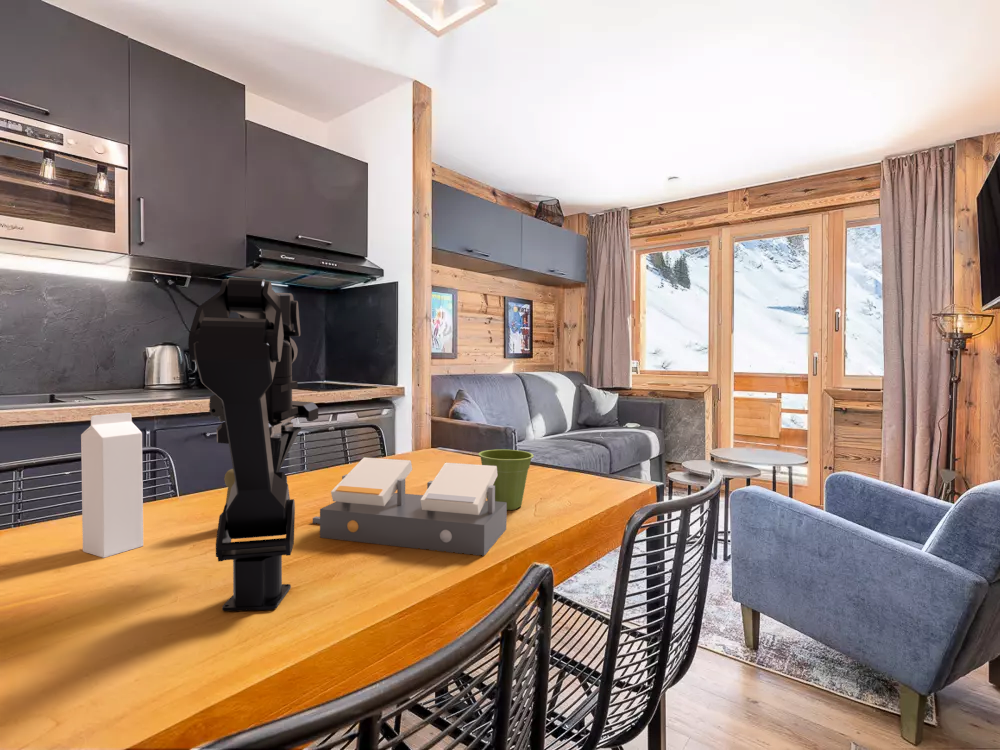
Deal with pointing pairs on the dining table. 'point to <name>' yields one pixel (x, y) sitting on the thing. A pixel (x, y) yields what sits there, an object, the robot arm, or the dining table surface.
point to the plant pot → (508, 474)
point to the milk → (112, 485)
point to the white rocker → (459, 488)
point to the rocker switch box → (415, 524)
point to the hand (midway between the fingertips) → (273, 474)
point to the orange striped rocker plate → (371, 481)
